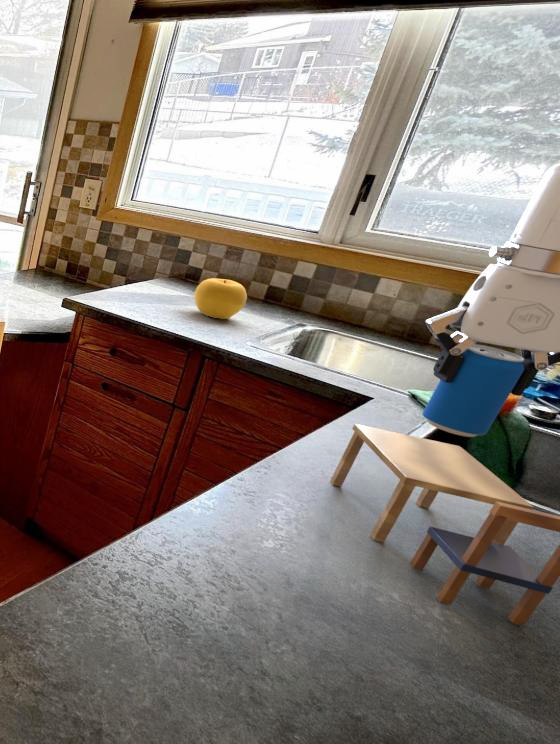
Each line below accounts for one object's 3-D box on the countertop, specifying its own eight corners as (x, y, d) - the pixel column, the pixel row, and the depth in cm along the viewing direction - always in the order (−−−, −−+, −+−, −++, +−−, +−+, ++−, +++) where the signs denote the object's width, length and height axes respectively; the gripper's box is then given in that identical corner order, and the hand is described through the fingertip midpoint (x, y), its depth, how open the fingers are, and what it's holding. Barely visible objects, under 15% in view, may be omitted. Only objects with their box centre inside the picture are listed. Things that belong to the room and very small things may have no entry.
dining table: (426, 504, 99) (460, 446, 95) (491, 572, 84) (534, 507, 80) (326, 479, 103) (354, 423, 99) (371, 540, 89) (406, 477, 85)
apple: (179, 310, 189) (191, 275, 185) (203, 306, 195) (215, 272, 190) (224, 325, 178) (238, 288, 174) (247, 321, 184) (261, 285, 180)
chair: (485, 583, 81) (546, 490, 76) (525, 627, 75) (596, 528, 69) (408, 562, 84) (461, 471, 79) (439, 602, 77) (501, 505, 72)
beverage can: (480, 429, 88) (525, 353, 84) (486, 445, 84) (533, 366, 79) (418, 411, 92) (457, 339, 88) (421, 426, 88) (462, 350, 83)
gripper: (472, 256, 79) (408, 380, 85) (666, 281, 72) (581, 412, 79) (441, 245, 85) (383, 361, 92) (616, 267, 79) (541, 390, 85)
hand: (475, 384), depth 85 cm, fingers closed on beverage can, 6 cm apart
